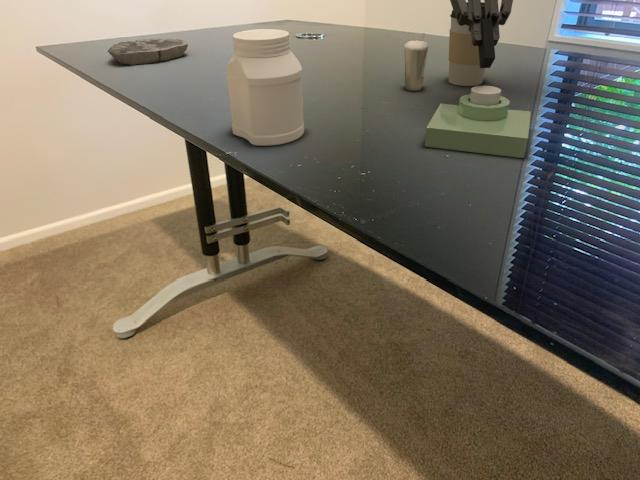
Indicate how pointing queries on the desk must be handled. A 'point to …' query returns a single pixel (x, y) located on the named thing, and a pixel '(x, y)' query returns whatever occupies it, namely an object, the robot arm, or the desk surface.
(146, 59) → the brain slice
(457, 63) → the coffee cup
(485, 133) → the panel
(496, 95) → the flush button
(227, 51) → the desk surface
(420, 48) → the milkshake
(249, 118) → the jar
